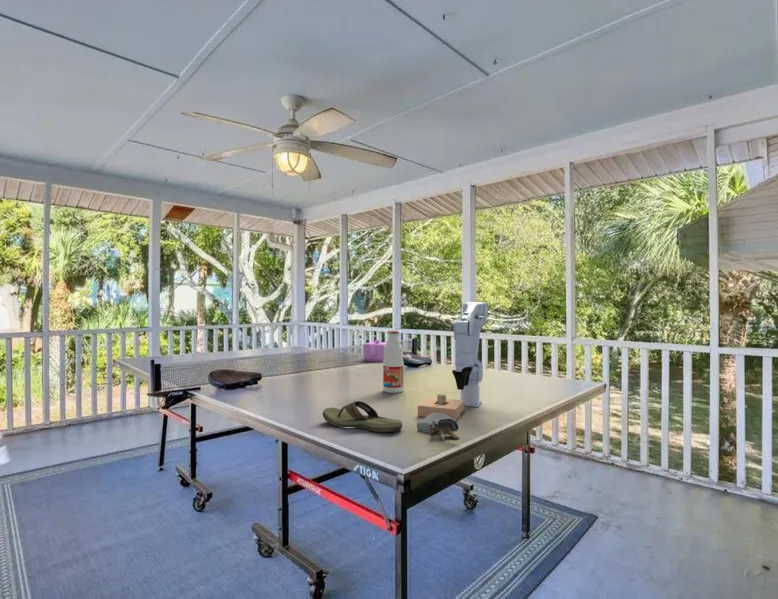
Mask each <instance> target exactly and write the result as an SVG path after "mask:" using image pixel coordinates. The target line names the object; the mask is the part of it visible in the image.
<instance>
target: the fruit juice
mask: <svg viewBox="0 0 778 599" xmlns="http://www.w3.org/2000/svg"><path fill="white" fill-rule="evenodd" d="M399 333H400V332H399V330H388V331H387V335H388V338H387V341H386V342H385V343H386V345H385V347H384V355H385V357H384V361H383V362H382V363H383V364H382V365H383V367H382V369H383V372H382V373H383V374H382V375H383V376H382V377H383V379H382V383H383V385H382V386H383V387H382V388H383V392H385V393H389V394H398V393H402V392H403V391H404V364H405V363H404V358H403V354H404V347H403V345H402V344H401V342H400V339H399Z"/></svg>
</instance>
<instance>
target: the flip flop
mask: <svg viewBox="0 0 778 599" xmlns="http://www.w3.org/2000/svg"><path fill="white" fill-rule="evenodd" d="M359 408H360V409H362V410H363V411H364V412H365V413H366V414H367V415H366V414H365V415H364V414H363V413H361V411H360V410H359ZM378 414H379V413H378V412H377V411H376V409H374V408H373V407H371V405H369V404H368V403H366V402H365V401H364V402H363V401H359V400H358V401H357V400H355V401H353V402H350V403H348V404H346V405H344V406H342V407H341V408H336V407H326V408H324V410H323V411H322V416H323V419H324V421H326V422H327V423H328V424H330V425H332V426H334V427H336V426H339V427H355V428H354V429H365V430H367V431H368V432H369V431H370V432H373V433H374V432H375V433H385V434H386V433H390V432H391V433H392V432H397V431H400V430H402V427H403V423H402V422H403V421H401V419H395V418H394V419H392V418H388V417H383V416H380V415H378ZM339 427H338V428H339Z"/></svg>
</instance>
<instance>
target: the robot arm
mask: <svg viewBox="0 0 778 599" xmlns="http://www.w3.org/2000/svg"><path fill="white" fill-rule="evenodd" d="M488 310H489V309H488V303H487V302H486V301H464V302H463V304H462V313H461V315H460V316H459V318H458V320H456V321H454V322H453V325H452V326H453V328H452V330H453V331H452V332H453V338H454V339H453V340H454V341H455V342H454V343H455V346H454V357H455V358H454V366H455V369H453V370H452V371H451V372H452V375H453V377H454V380H455V383H456V388H457V390H460V400H464V407H475V408H476V407H479V406H480V405H481V403H482V400H480V383H481V382H482V381H483V378H484V366H483V364H482V362H481V361H480V360H479V359H478V355H479V344H480V337H481V330H482V326H483V325H484V324H486V323H487V320H488Z"/></svg>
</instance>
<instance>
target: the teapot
mask: <svg viewBox="0 0 778 599" xmlns="http://www.w3.org/2000/svg"><path fill="white" fill-rule="evenodd" d="M386 343H387V342H382V341H381V340H380V339H374V341H370V342H366V343H363V361H364V360H366V361H365V362H373V361H374V362H375V363H383V361H384V357H385V355H384V347H385V345H386ZM374 362H373V363H374Z"/></svg>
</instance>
